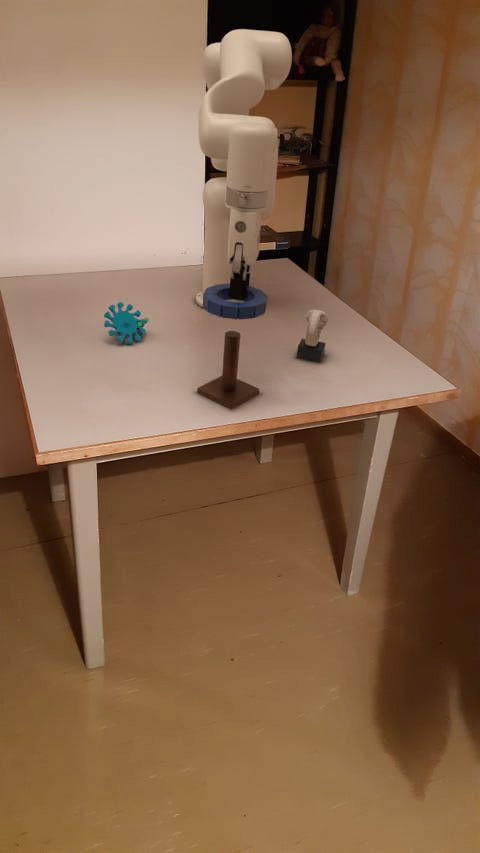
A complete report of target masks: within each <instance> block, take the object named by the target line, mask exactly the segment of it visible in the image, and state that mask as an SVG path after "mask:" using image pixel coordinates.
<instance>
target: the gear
mask: <svg viewBox="0 0 480 853" xmlns="http://www.w3.org/2000/svg"><path fill="white" fill-rule="evenodd" d="M124 305H125V304H124V303H123V302H121V301H119V302H117V304H116V306H115V304H110V305H109V306H108V310H109V311H105V313H104V314H103V317H104V318H106V319H107V320H105V321H104V323H103V327H104V328H112V329H109V330H108V332H107V333H108V335H109V337H113V336H114V335H117V334H120V335H118V336H117V337H116V339H115V340H116V342H118V343H120V344H121V343H122V342H123V341H124V337H125V336H127V337H128V338H127V339H125V343H126V344H128V345H132V344H133V342H134V341H135V342H140V341H141V339H142V335H144V334H145V333H146V329H145V328H144V327H145V325H147V323H148V322H149V321H150V319H149V317H145V318H142V319H141V318H140V319H139V317H141V315H142V313H141V311H140V310H136V311H135V312H129V311H132V310H133V309H134V306H133V305H132V304H131V303H128V304H127V306H126V309H125V310H123V309H122V308H123V307H124ZM116 307H117V312H116ZM111 313H112V315H111ZM109 320H110V321H109ZM138 332H139V333H138ZM139 334H140V335H139ZM133 335H134V341H133Z"/></svg>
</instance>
